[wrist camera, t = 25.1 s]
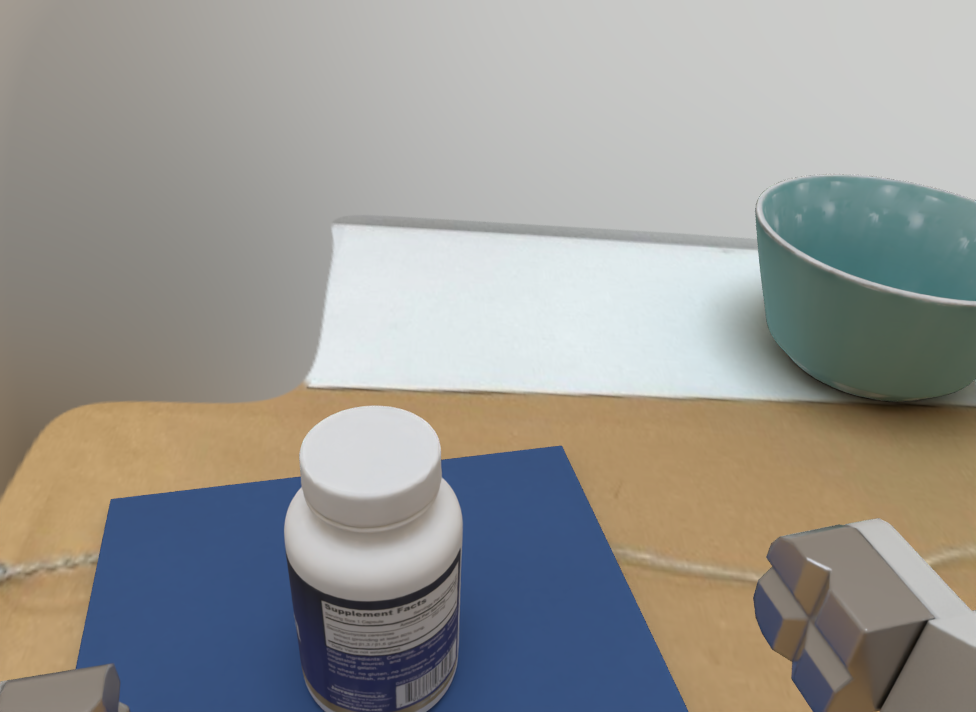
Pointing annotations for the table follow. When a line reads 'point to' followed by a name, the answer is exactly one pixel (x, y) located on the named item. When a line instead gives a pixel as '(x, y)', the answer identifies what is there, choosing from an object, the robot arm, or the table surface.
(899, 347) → the bowl
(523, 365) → the table surface
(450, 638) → the pill bottle
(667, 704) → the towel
